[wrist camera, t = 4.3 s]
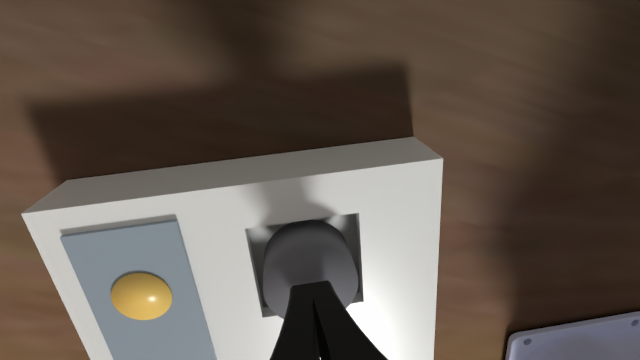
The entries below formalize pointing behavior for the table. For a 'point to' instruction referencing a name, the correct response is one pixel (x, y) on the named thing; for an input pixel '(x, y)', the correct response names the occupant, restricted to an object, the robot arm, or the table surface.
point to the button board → (241, 249)
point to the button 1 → (307, 262)
